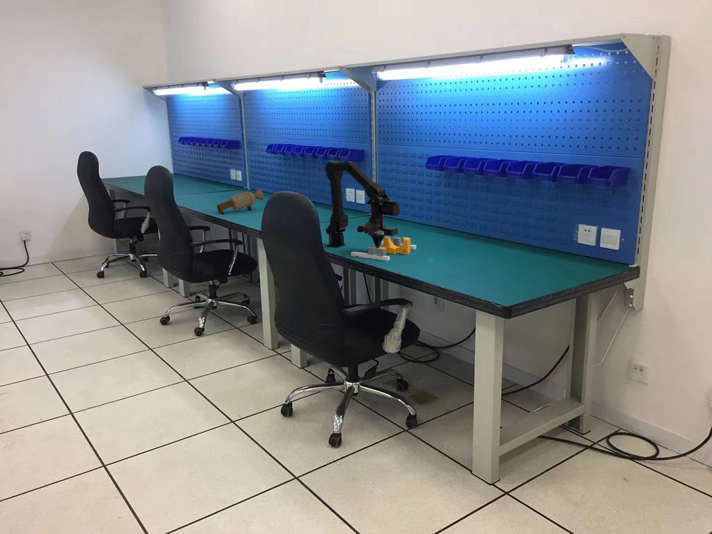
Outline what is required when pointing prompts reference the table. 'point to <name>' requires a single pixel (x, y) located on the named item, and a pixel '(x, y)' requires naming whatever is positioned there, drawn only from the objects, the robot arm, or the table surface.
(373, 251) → the collar track
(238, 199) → the brown toy figure
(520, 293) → the table surface
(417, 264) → the table surface
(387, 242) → the pipe clamp
